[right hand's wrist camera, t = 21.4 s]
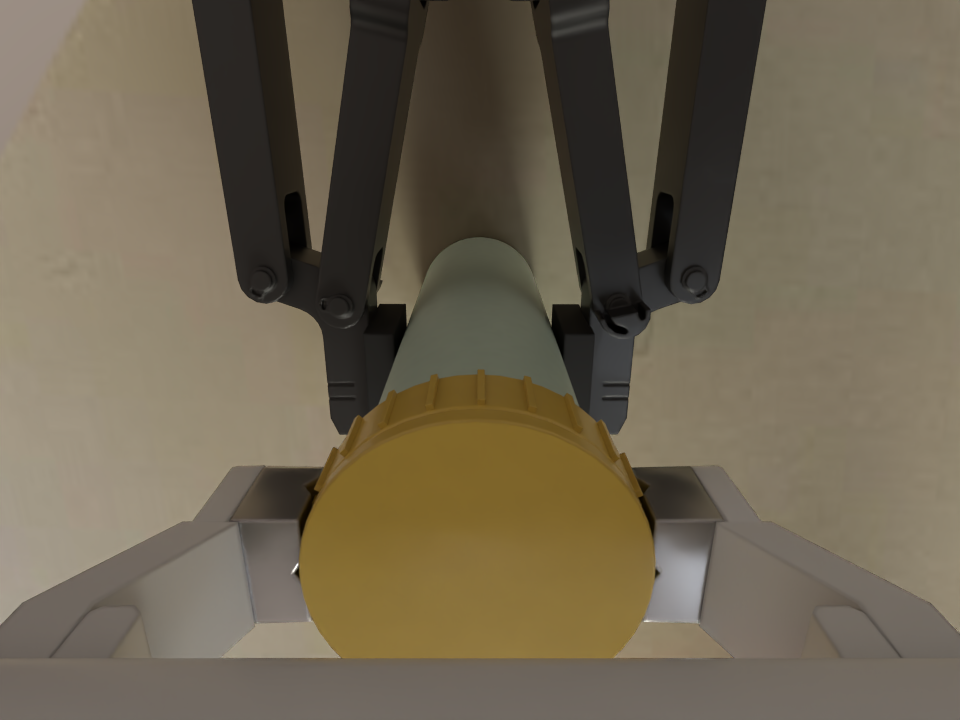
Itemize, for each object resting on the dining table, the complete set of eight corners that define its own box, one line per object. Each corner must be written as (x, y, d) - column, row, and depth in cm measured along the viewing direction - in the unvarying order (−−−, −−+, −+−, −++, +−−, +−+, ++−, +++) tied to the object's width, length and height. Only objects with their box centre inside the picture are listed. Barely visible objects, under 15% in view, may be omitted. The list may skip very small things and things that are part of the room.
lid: (672, 581, 11) (704, 656, 9) (401, 667, 11) (389, 750, 10) (574, 317, 9) (594, 355, 7) (262, 437, 10) (223, 494, 8)
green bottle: (405, 319, 24) (298, 596, 10) (451, 217, 22) (402, 371, 8) (505, 363, 24) (537, 682, 10) (555, 267, 23) (671, 486, 9)
